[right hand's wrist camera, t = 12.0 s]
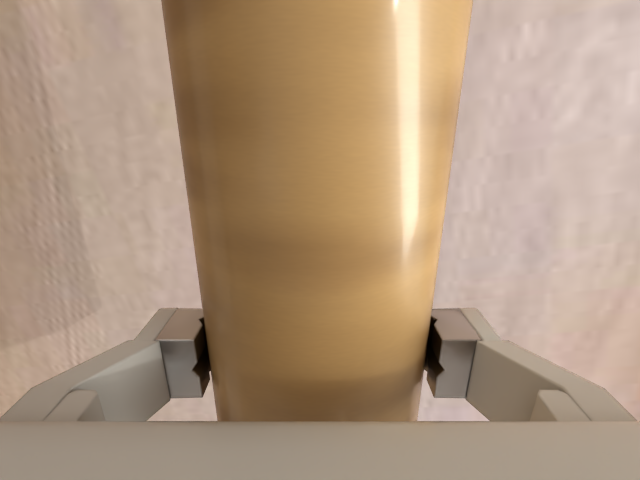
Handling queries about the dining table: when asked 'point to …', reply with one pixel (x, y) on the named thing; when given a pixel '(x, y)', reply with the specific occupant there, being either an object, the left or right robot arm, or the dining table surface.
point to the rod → (317, 195)
